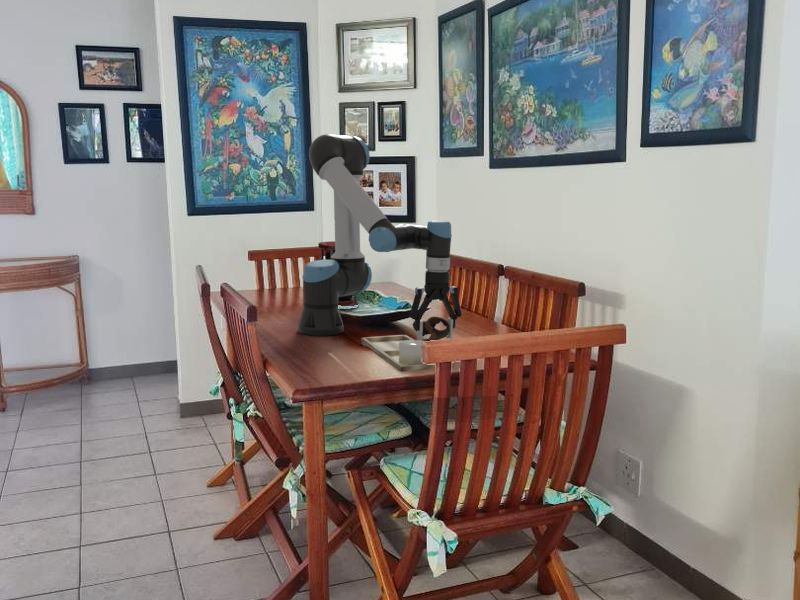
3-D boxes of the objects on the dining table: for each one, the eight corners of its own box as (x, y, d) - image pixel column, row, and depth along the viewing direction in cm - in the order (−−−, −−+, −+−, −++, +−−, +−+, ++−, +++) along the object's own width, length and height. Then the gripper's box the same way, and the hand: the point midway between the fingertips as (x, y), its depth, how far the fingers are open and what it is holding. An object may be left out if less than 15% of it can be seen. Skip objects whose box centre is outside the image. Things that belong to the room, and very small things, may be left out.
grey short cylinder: (405, 366, 202) (405, 348, 201) (394, 357, 210) (394, 341, 209) (435, 363, 205) (435, 346, 204) (422, 355, 214) (423, 339, 213)
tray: (401, 374, 197) (401, 367, 197) (360, 343, 229) (361, 337, 229) (451, 369, 202) (452, 362, 202) (405, 340, 235) (405, 334, 234)
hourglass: (328, 301, 298) (328, 240, 294) (365, 304, 293) (365, 242, 289) (311, 308, 283) (311, 244, 279) (350, 311, 278) (350, 246, 274)
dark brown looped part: (446, 337, 240) (453, 318, 235) (442, 355, 233) (449, 337, 228) (411, 326, 240) (417, 307, 235) (406, 344, 233) (412, 325, 228)
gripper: (408, 272, 222) (406, 344, 226) (474, 271, 230) (471, 340, 234) (400, 269, 229) (397, 338, 233) (464, 267, 237) (460, 334, 241)
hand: (434, 339), depth 233 cm, fingers closed on dark brown looped part, 10 cm apart
